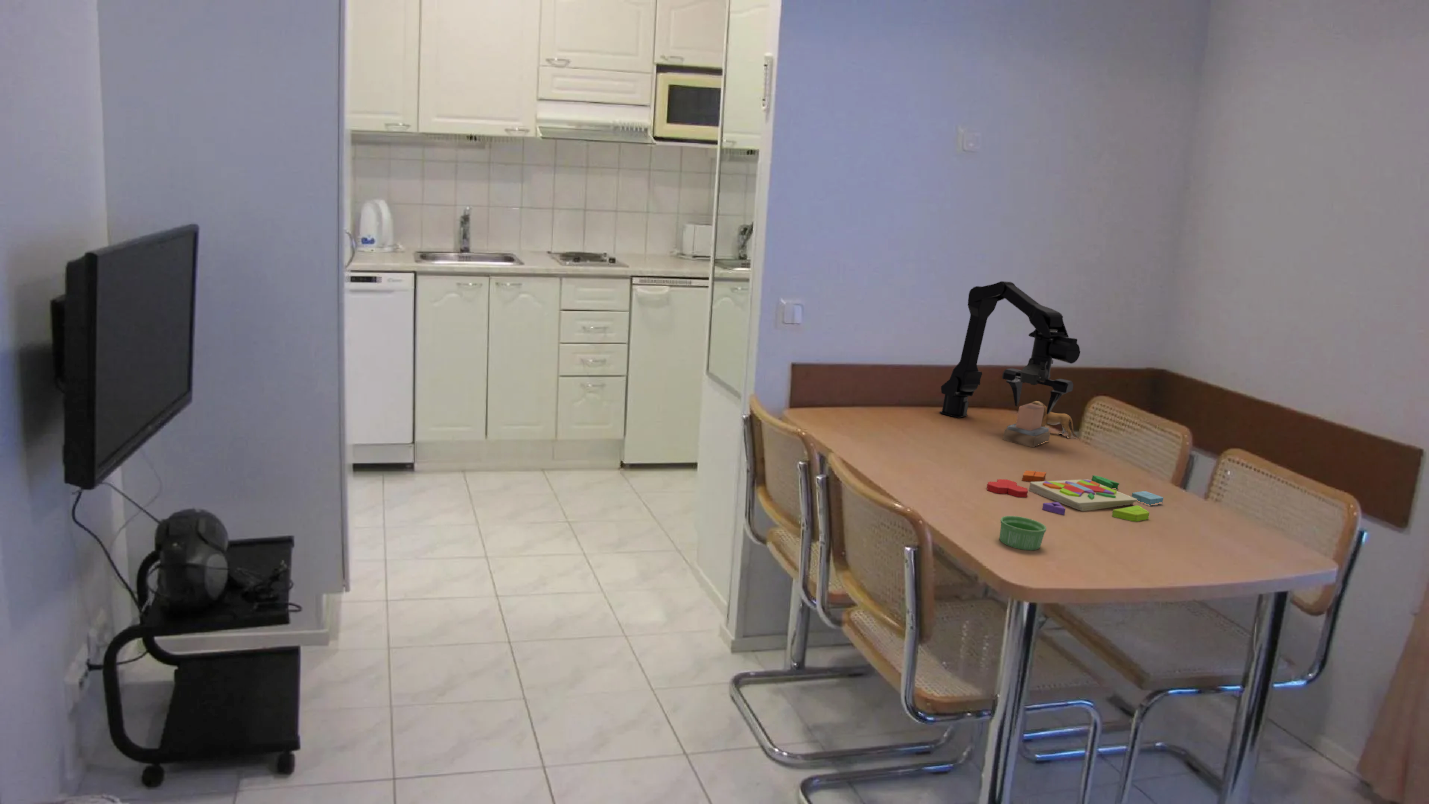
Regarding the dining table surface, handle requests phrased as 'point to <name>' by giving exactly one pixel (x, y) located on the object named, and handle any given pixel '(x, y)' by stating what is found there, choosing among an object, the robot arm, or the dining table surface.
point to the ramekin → (1021, 532)
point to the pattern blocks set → (1079, 495)
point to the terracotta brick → (1030, 416)
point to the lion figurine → (1056, 419)
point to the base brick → (1026, 435)
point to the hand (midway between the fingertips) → (1032, 410)
